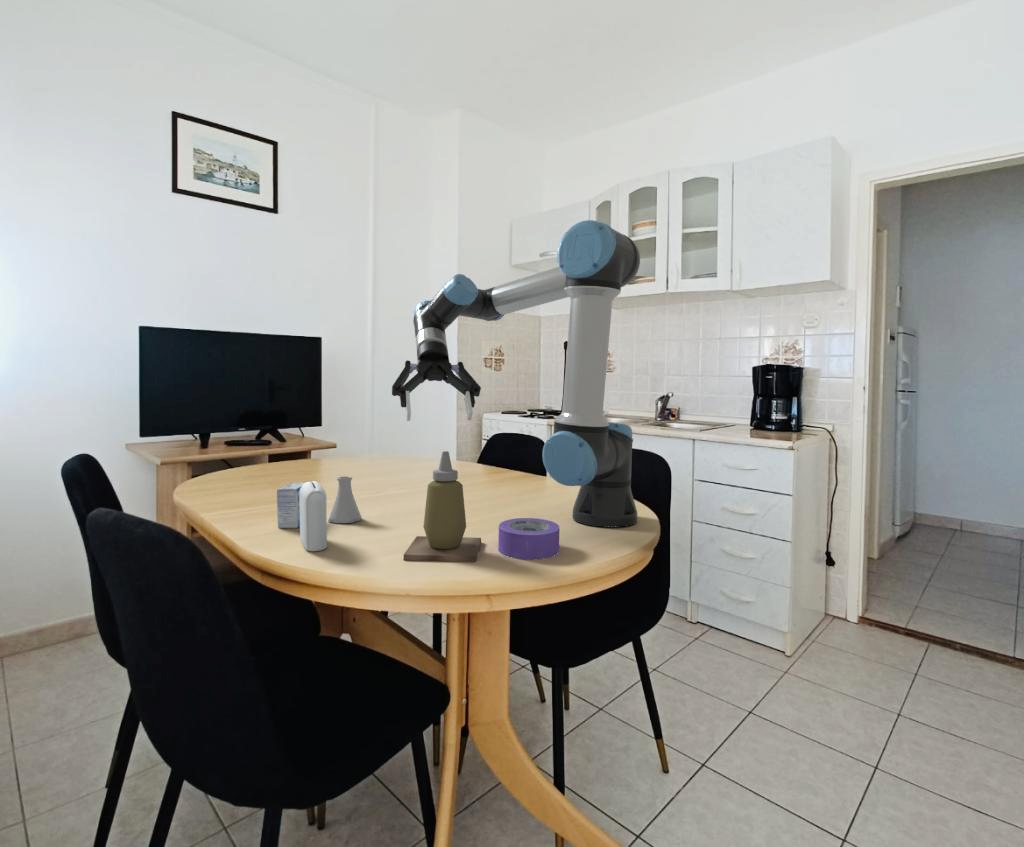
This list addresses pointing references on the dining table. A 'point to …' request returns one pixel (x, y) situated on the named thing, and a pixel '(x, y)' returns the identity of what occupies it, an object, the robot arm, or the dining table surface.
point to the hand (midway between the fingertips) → (439, 416)
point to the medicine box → (289, 506)
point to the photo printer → (313, 516)
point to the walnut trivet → (443, 551)
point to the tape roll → (528, 538)
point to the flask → (344, 503)
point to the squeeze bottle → (445, 507)
